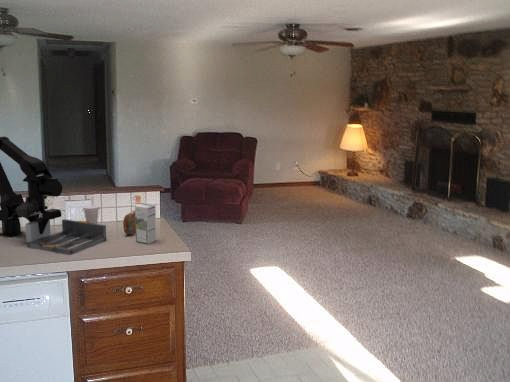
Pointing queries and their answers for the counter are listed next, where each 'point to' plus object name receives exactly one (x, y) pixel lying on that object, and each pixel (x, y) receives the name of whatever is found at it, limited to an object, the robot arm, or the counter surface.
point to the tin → (130, 223)
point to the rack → (72, 237)
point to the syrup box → (145, 223)
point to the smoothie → (91, 213)
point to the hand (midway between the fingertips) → (38, 233)
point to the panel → (36, 231)
